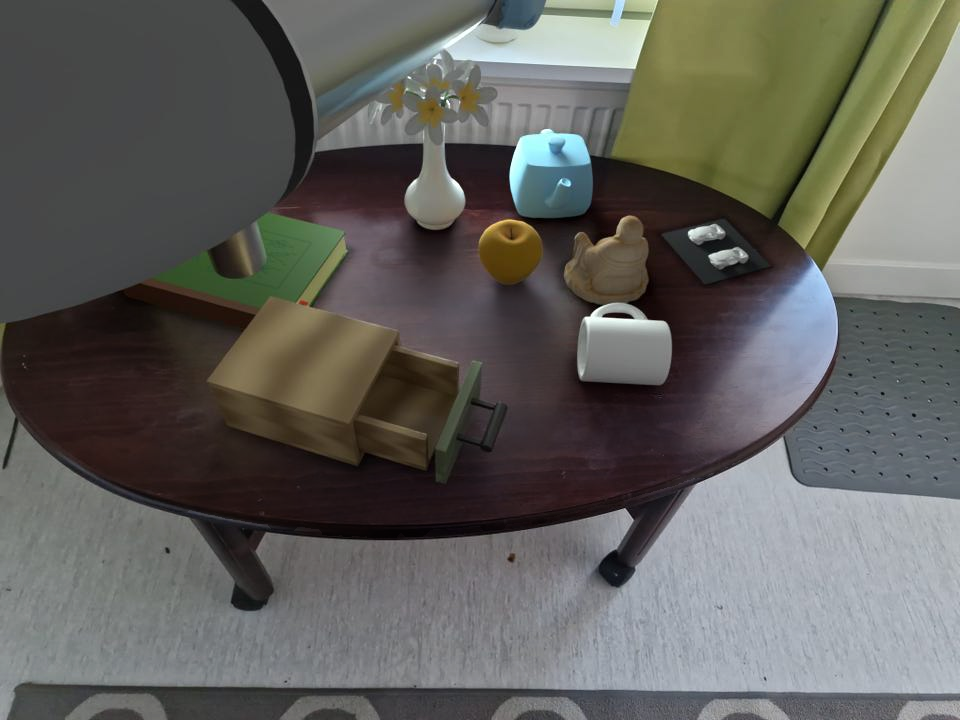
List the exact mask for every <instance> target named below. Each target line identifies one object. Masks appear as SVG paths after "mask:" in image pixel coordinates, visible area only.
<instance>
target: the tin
mask: <svg viewBox="0 0 960 720" xmlns="http://www.w3.org/2000/svg"><path fill="white" fill-rule="evenodd" d="M207 253H208V256H209V259H210V261H211V264H212V267H213V269H214V271H215V272H216V273H217V274H218V275H220V276H222V277H225V278H229V279H241V278H246V277H249V276H251V275H254V274H255V273H257V272H258V271H260V270H261V269H262V268H263V267H264V265H265V263H266V260H267V255H266V252H265V248H264V245H263V241H262V238H261V234H260V231H259V227H258V224H257V220H256V221H254V222H253V223H251V224H250V225H249V226H247V227H246V228H244V229H243V230H241V231H240V232H238V233H237V234H235V235H234V236H232V237H231V238H229V239H227V240H226V241H224V242H222V243H220V244H218V245H216V246H215V247H213V248H211V249H209V250H207Z"/></svg>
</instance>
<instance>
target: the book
mask: <svg viewBox="0 0 960 720" xmlns="http://www.w3.org/2000/svg"><path fill="white" fill-rule="evenodd" d="M257 224H258V227H259V231H260V234H261V238H262V241H263V245H264V248H265V252H266V255H267V260H266V263H265V265H264V267H263V268H262V269H261V270H260V271H258V272H257V273H255V274H254V275H251V276H249V277H246V278H241V279H229V278H225V277H222V276H220V275H218V274H217V273H216V272H215V271H214V269H213V267H212V264H211V261H210V259H209V256H208V253H207V251H205V252H204V253H202V254H200V255H198V256H196V257H194V258H193V259H191V260H189V261H187V262H185V263H183V264H182V265H179V266H177V267H175V268H172V269H170V270H168V271H165V272H163V273H161V274H159V275H156V276H154V277H152V278H149V279H147V280H145V281H143V282H140V283H138V284H136V285H133V286H131V287H128V288H125V289H122V291H123V293H124V295H125V297H127V298H130V299H134V300H137V301H140V302H144V303H148V304H152V305H155V306H158V307H162V308H166V309H169V310H173V311H177V312H180V313H183V314H187V315H190V316H194V317H198V318H201V319H205V320H209V321H212V322H216V323H219V324H223V325H226V326H229V327H234V328H238V329H241V330H244V331H245V329H246V328H247V327H248V325H249V324H250V323H251V321H252V320H253V319H254V317H255V316H256V315H257V313H258V312H259V311H260V309H261V308H262V307H263V305H264V304H265V303H266V301H267V300H268V299H269V297H270V296H271V297H275V298H278V299H282V300H286V301H289V302H293V303H297V304H301V305H304V306H308V307H312V306H313V304H314V303H315V301H316V300H317V299H318V297H319V296H320V294H321V293H322V291H323V290H324V289H325V287H326V286H327V284H328V282H329V281H330V279H331V278H332V277H333V276H334V274H335V272H336V271H337V270H338V268H339V266H340V265H341V264H342V262H343V260H344V259H345V258H346V256H347V255H348V253H349V252H350V251H349V249H347V248H346V242H345V235H346V234H347V231H345V230H341V229H337V228H333V227H329V226H325V225H320V224H318V223H317V224H316V223H314V222H313V223H312V222H309V221H305V220H300V219H296V218H292V217H288V216H285V215H280V214H275V213H272V212H269V211H268V212H267V213H266V214H265V215H263V216H262V217H260V218H259V219H257Z"/></svg>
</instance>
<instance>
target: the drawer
mask: <svg viewBox="0 0 960 720" xmlns="http://www.w3.org/2000/svg"><path fill="white" fill-rule="evenodd" d="M482 371H483V362H480V361H476V360H472V361H471V362H470V365H469V368H468V370H467V373H466V375H465V377H464V379H463V381H462V384H461V386H460V362H458V361H455V360H454V361H453V360H451V359H446V358H443V357H439V356H435V355H433V354H432V355H431V354H428V353H425V352H421V351H417V350H414V349H409V348H406V347H403V346H400V347H399V346H396V345H394V347H393V349H392V351H391V353H390V354H389V356H388V358H387V360H386V362H385V364H384V366H383V367H382V369H381V371H380V373H379V375H378V377H377V379H376V380H375V382H374V384H373V386H372V388H371V390H370V392H369V393H368V395H367V397H366V399H365V401H364V403H363V405H362V406H361V408H360V410H359V412H358V414H357V416H356V418H355V419H354V421H353V425H354V430H355V435H356V440H357V445H358V450H359V451H363V452H365V453H366V454H370V455H373V456H376V457H379V458H382V459H386V460H388V461H391V462H394V463H399V464H402V465H405V466H409V467H411V468H414V469H415V468H416V469H418V470H423V471H425V472H427V471H428V468H429V466H430V464H431V462H432V459H433V457H434V458H435V459H434V463H435V467H434V468H435V482H437V483H440V484H444V485H447V483H448V481H449V477H450V475H451V472H452V470H453V468H454V465H455V462H456V460H457V457H458V455H459V452H460V449H461V448H462V445H463V443H465V444H469V445H472V446H476V447H478V448H479V449H480V450H481V451H482V452H483V453H492V452H493V450H494V447H495V445H496V441H497V439H498V436H499V434H500V431H501V427H502V425H503V422H504V419H505V416H506V414H507V411H508V409H509V408H508V405H507V404H506V403H505V402H502V401H497V402H496V403H493V402H489V401H486V400H482V399H481V390H482V389H481V387H482V373H483V372H482ZM477 407H479V408H482V409H486V410H490V411H492V412H491V415H490V417H489V420H488V423H487V426H486V429H485V432H484V435H483V437H482V439H480V438H476V437H473V436H470V435H466V434H467V431H468V429H469V427H470V424H471V422H472V419H473V417H474V414H475V411H476V409H477Z"/></svg>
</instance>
